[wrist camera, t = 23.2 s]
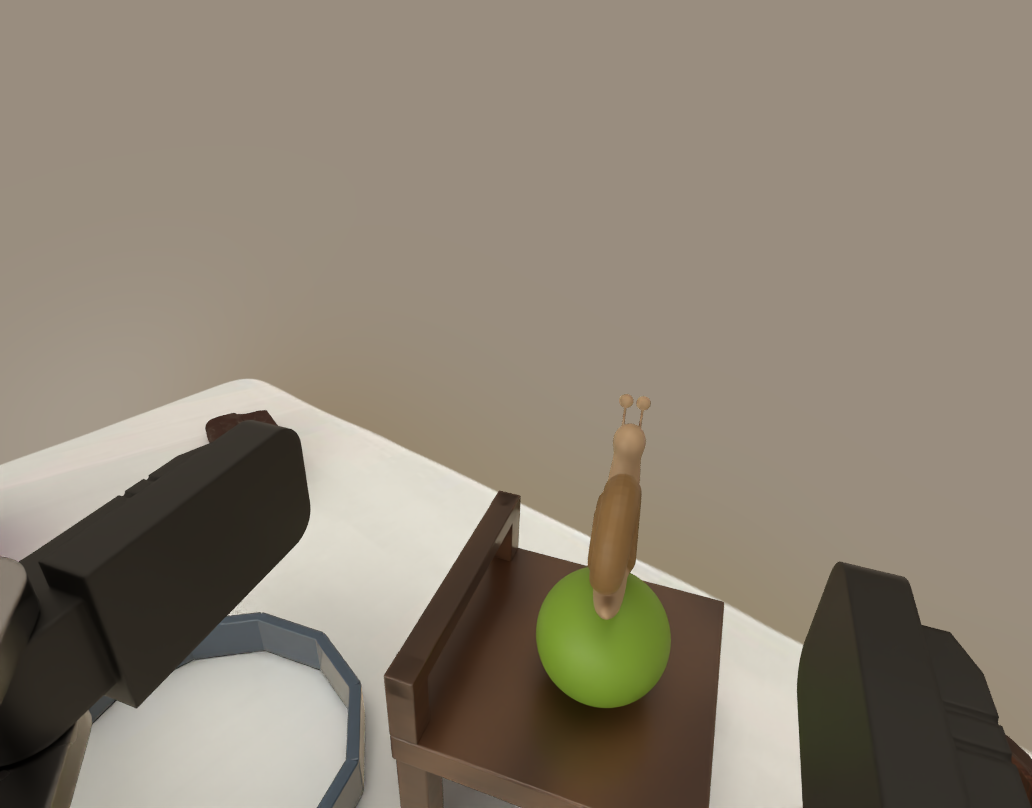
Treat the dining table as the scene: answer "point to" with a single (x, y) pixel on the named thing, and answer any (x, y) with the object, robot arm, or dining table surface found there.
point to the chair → (543, 694)
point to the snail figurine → (608, 597)
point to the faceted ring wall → (306, 649)
